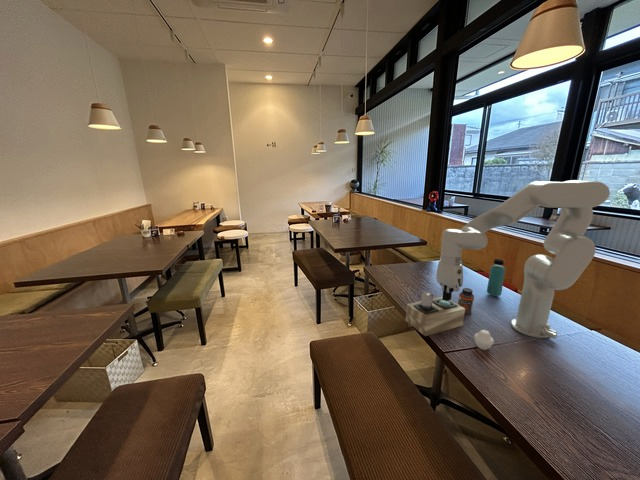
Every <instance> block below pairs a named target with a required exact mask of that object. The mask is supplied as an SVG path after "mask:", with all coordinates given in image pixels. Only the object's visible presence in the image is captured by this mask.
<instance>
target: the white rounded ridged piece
mask: <svg viewBox="0 0 640 480" xmlns="http://www.w3.org/2000/svg"><path fill="white" fill-rule="evenodd" d="M473 338H474V342H475V344H476V346H477V348H478V349H480V350H483V351H487V350H488V349H490V347H492V346H493V344H494V343H495V340H494V338H493V337H492V336H491V332H489V331H488V330H487V329H480V330H479V331H478V332H476V333H475V334H474V336H473Z"/></svg>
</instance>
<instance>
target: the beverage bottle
mask: <svg viewBox="0 0 640 480" xmlns="http://www.w3.org/2000/svg"><path fill="white" fill-rule="evenodd" d="M504 262H505V261H504V260H503V259H501V258H495V259H494V261H493V265H491V266H490V271H489V274H488V282H487V283H488V284H487V286H486V287H487V288H486V292H487V294H488V295H490V296H494V297H500V296H501V295H502V292H503V285H504V278H505V274H506V268H505V267H504V266H503V265H504Z"/></svg>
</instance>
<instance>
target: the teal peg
mask: <svg viewBox="0 0 640 480" xmlns="http://www.w3.org/2000/svg"><path fill="white" fill-rule="evenodd" d="M439 304H441V305H443V306H444V307H446V306H450V302H448V301H445V300H440V301H439Z"/></svg>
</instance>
